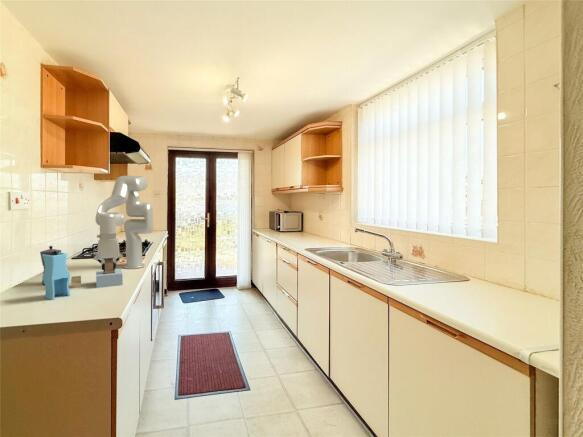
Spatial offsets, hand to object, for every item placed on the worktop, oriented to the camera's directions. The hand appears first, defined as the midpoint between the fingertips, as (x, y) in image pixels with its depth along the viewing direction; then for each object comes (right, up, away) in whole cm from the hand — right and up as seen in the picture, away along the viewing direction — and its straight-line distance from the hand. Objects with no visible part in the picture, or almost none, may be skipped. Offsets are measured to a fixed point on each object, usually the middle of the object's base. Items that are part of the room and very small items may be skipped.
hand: (109, 270), depth 182 cm
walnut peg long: (0, -6, 0) cm, 6 cm away
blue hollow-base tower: (-12, -9, -23) cm, 27 cm away
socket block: (0, -7, 0) cm, 7 cm away
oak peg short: (-14, -8, -5) cm, 17 cm away
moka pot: (-30, -7, 0) cm, 31 cm away
